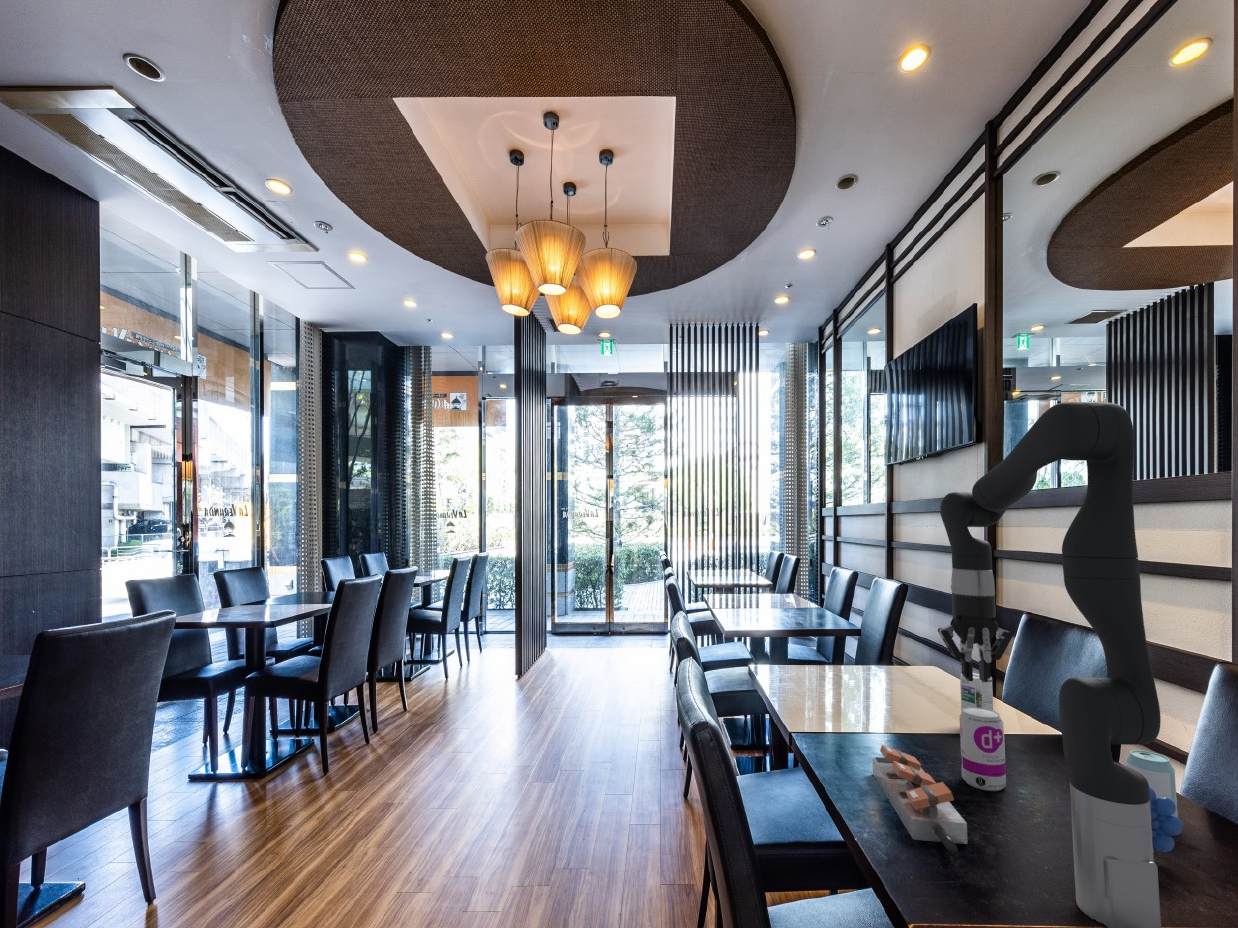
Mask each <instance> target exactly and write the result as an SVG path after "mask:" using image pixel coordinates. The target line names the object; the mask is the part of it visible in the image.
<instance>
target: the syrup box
mask: <svg viewBox="0 0 1238 928" xmlns="http://www.w3.org/2000/svg"><path fill="white" fill-rule="evenodd" d="M959 679H960V680H959V681H960V684H959V686H960V687H959V688H960V710H961V711H960V712H961V713H962V709H963V708H966V707H978V708H985V709H989V710H992V711H994V696H993V677H992V676H991V677H990V679H988V682H983V681H981V680H980V678H979V673H975V672H973V681H968V680H966V679H965V677H964V676H963V675H962V673H960V675H959ZM961 713H960V714H961Z"/></svg>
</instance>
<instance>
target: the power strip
mask: <svg viewBox="0 0 1238 928" xmlns="http://www.w3.org/2000/svg"><path fill="white" fill-rule="evenodd" d="M892 765H893V761H890V760H888V759H885V757H881V756H880V757H879V756H878V757H877V756H876V757H872V775H873V777H874V778H875V780H876V781H877V784H878V785H879V787H880V788H881V790H882V791H883V793H884V794H885V796H886V798H887V799H889V800H888V801H889V803H890V805H891V806H892V808H893V809H894V812H896V813H897V815H898V817H899V819H900V820H901V822H902V825H904V827H905V829H906V830H907V831H908V833H909V836H910V837H911V838H912V840H917V841H926V842H927V841H928V842H938V843H942V844H943V846H944V848H946V851H947V852H948V853H949V854H950V855H954V856H955V855H957V854H958V852H959V849H958V847H957V845H956V844H959V845H961V844H962V845H963V844H964V845H968V823H967V822H966V820H965V819H964V818H963V817H962V815H961V814H960V813H959V812H958V810H957V809H956V808H955V807H954V805H952V803H951V801H948V802H944V803H940V804H938V805H936V806H928V807H924V808H920V809H915V808H914V806H913V805H912V804H911V802H910V801H909V799H908V797H907V794H906V791H908V790H912V789H916V788H920V787H922V785H916V784H914V783H913V782H911V781H909V780H906V779H904V778H901V777H898V776H897V774H896V773H895V771H894V770H893V768H892ZM920 771H922V772H924V773H926V772H925V771H924V769H923V768H922V767H921V768H920Z"/></svg>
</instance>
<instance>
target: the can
mask: <svg viewBox="0 0 1238 928" xmlns="http://www.w3.org/2000/svg"><path fill="white" fill-rule="evenodd" d="M1125 764H1126V765H1125V766H1127V767H1129V768H1131V769H1133V770H1135V771H1137V772H1139V773H1140V774H1142V775H1143V776H1144V777H1145V778H1146V779H1147V781H1148V784H1149V787H1151V788H1152V789H1153V790H1154V791H1155V794H1156V798H1158V797H1166V798H1170V799H1171V800H1172V801H1173V802H1174V804H1175V806H1176V810H1175V812H1174V814H1173V815H1171V816H1175V817H1177V818H1178V819H1179V817H1178V816H1179V815H1178V803H1177V802H1178V801H1177V787H1176V786H1177V785H1176V771H1175V768H1174V766H1173V765H1172V764H1171V763H1170V758H1168V757H1167V756H1165V755H1162V754H1159V753H1156V752H1153V751H1149V750H1143V749H1142V750H1140V749H1137V750H1136V749H1135V750H1130V751H1129V755H1128V756H1127V757H1126V759H1125Z"/></svg>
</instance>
